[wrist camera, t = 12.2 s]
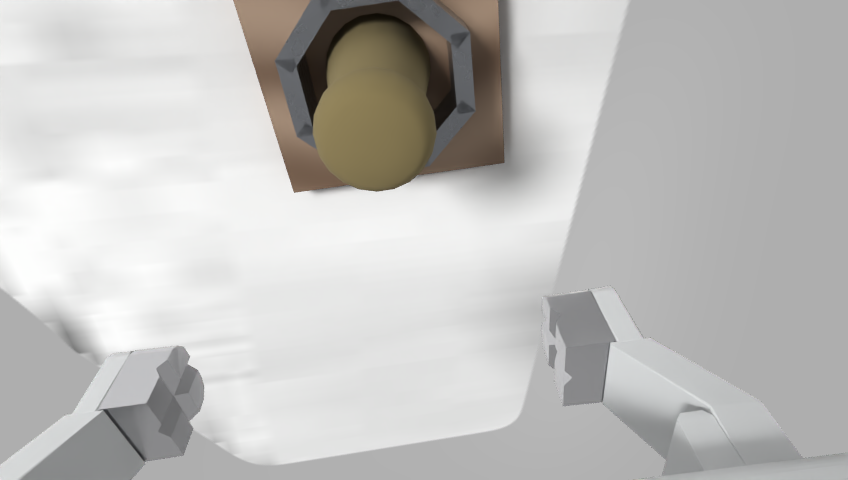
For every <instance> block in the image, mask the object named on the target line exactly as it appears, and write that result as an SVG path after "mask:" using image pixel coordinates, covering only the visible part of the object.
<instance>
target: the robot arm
mask: <svg viewBox="0 0 848 480" xmlns="http://www.w3.org/2000/svg"><path fill="white" fill-rule="evenodd" d="M542 311H543V314H544V317H545V320H544V322H543V323H542V340H543V347H544V351H545V355H546V358H547V361H548V364H549V366H551V367H552V368H554V382H555V385H556V388H557V391H558V393H559V396H560V399H561V401H562V405H563V406H569V405H579V404H589V403H599V402H603V405H604V406H605V407H607V408H608V409H609V410H610V411H611V412H613V414H615V415H616V416H617V417H618V418H619V419H620V420H621V421H622V422H624V423H625V424H626V425H627V426H628V427H629V428H630V429H632V430H633V431H634V432H635V433H636V434H637V435H638V436H640V437H641V438H642V439H643V440H644V441H645V442H646V443H647V444H648V445H650V446H651V447H652V448H653V449H654V450H655V451H657V452H658V453H659V454H660V455H661V456H662V457H663V458H664V459H666V462H665V466H664V470H663V473H662V476H659V477H650V478H643V479H634V480H848V453H841V454H833V455H826V456H817V457H809V458H802V456H801V455H800V454H799V452H798V451H797V449H796V448H795V447H794V445H793V444H792V443H791V441H790V440H789V439H788V437H787V436H786V435H785V433H784V432H783V430H782V429H781V428H780V426H779V425H778V424H777V422H776V421H775V420H774V418H773V417H772V415H771V414H770V413H769V411H768V410H767V409H766V407H765V406H764V405H763V403H762V402H761V401H760V400H758V399H756V398H755V397H753V396H751V395H749V394H748V393H746V392H744V391H742V390H741V389H739V388H737V387H735V386H734V385H732V384H730V383H729V382H727V381H725V380H723V379H722V378H720V377H718V376H716V375H715V374H713V373H711V372H710V371H708V370H706V369H704V368H702V367H701V366H699V365H697V364H696V363H694V362H692V361H690V360H689V359H687V358H685V357H684V356H682V355H680V354H678V353H677V352H675V351H673V350H671V349H670V348H668V347H666V346H664V345H663V344H661V343H659V342H658V341H656V340H654V339H652V338H643V336H642V334H641V333H640V331H639V329H638V328H637V326H636V324H635V323H634V321H633V319H632V318H631V316H630V314H629V312H628V311H627V309H626V307H625V306H624V304H623V302H622V301H621V299H620V297H619V295H618V294H617V292H616V290H615V289H614V288H613V287H611V286H608V287H601V288H594V289H588V290H582V291H575V292H568V293H562V294H554V295H547V296H543V299H542ZM189 358H190V356H189V354H188V353H187V351H186V350H185V348H184V347H182V346H170V347H161V348H152V349H143V350H135V351H130V352H120V353H113V354H112V355H110V356H109V357H107V358H106V360H105V362H104V363H103V365H102V366H101V368H100V370H99V371H98V373H97V375H96V376H95V378H94V380H93V381H92V383H91V384H90V386H89V388H88V389H87V391H86V392H85V394H84V396H83V397H82V399H81V401H80V402H79V404H78V405H77V407H76V409H75V410H74V412H73V414H71V415H65V416H63V417H62V418H61V419H60V420H59V421H57V422H56V423H54V424H53V425H52V426H51V427H49V428H48V429H47V430H45V431H44V432H43V433H41V434H40V435H39V436H38V437H36V438H35V439H33V440H32V441H31V442H30V443H28V444H27V445H26V446H24V447H23V448H22V449H21V450H19V451H18V452H17V453H15V454H14V455H13V456H11V457H10V458H9V459H7V460H6V461H5V462H4V463H2V464H1V465H0V480H131V479H132V478H133V477H134V476H135V475H136V474H137V473H138V472H139V470H140V469H141V468H142V467H143V466H144V465H145V462H146V461H152V460H158V459H165V458H171V457H177V456H183V455H184V452H185V450H186V447H187V444H188V442H189V439H190V436H191V434H192V431H193V427H192V425H191V422H190V420H191V419H192V418H193V417H194V416H195V415H196V414H197V413H198V412H199V411H200V409H201V406H202V403H203V400H204V384H203V380H202V377H201V375H200V373H199V372H198V370H197V369H195V368H193V367H191V366H190V365H188V364H187V363H188V361H189Z"/></svg>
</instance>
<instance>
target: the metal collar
mask: <svg viewBox="0 0 848 480" xmlns="http://www.w3.org/2000/svg"><path fill="white" fill-rule="evenodd" d="M391 1H400V2H401V3H402V4H403V5H405V6H406V7H407V8H408V9H409V10H411V11H412V12H413V13H414V14H416V15H417V16H418V17H419V18H420V19H422V20H423V21H424V22H425V23H427V24H428V25H429V26H430V27H431V28H433V29H434V30H435V31H436V32H438V33H439V34H440V35H441V36H442V37H444V38H445V39H446V41H447V51H448V61H449V72H450V82H451V90H450V91H449V92H448V94H447V95H446V96H445V97H444V99H443V100H442V101H441V103H440V104H439V105H438V106H437V108H436V109H435V110H434V111H433V112H434V116H435V124H436V132H437V135H436V139H435V144H434V149H433V152H432V155H431V157H430V158H429V160H428V162H427V164H426V165H425V167H428V166H430V165H431V164H432V162H433V161H434V160H435V159H436V158H437V156H438V155H439V154H440V153H441V152H442V150H443V149H444V148H445V147H446V146H447V145H448V143H449V142H450V141H451V140H452V139H453V137H454V136H455V135H456V134H457V133H458V131H459V130H460V129H461V128H462V127H463V125H464V124H465V123H466V122H467V121H468V119H469V118H470V117H471V116H472V115H473V114H474V112H476V110H475V96H474V82H473V68H472V54H471V40H470V31H469V29H468V28H467V26H466V24H465V23H464V21H463V20H462V19H461V18H460V17H458V16H457V15H456V14H455V13H454V12H453V11H451V10H450V9H449V8H448V7H447V6H446V5H444V4H443V3H442V2H441V1H440V0H311V1H310V2H309V4H308V6H307V7H306V9H305V11H304V12H303V14H302V16H301V18H300V19H299V21H298V23H297V24H296V26H295V28H294V29H293V31H292V33H291V34H290V36H289V38H288V39H287V41H286V43H285V45H284V46H283V48H282V50H281V51H280V53H279V55H278V56H277V58H276V59H275V61H274V62H275V64H276V67H277V71H278V74H279V77H280V81H281V84H282V88H283V91H284V95H285V98H286V102H287V105H288V108H289V112H290V115H291V119H292V122H293V126H294V129H295V132H296V137H298V138H299V139H301V140H303V141H304V142H306V143H307V144H309V145H310V146H312V147H314V148H315V149H317V147H316V144H315V140H314V137H313V120H314V113H315V111H316V108H317V106H318V103H317V99H316V95H315V91H314V87H313V83H312V79H311V75H310V72H309V68H308V64H307V60H306V56H305V52H306V50H307V48H308V47H309V45H310V43H311V42H312V40H313V39H314V37H315V35H316V34H317V32H318V30H319V29H320V27H321V26H322V24H323V22H324V21H325V19H326V17H327V16H328V14H329V13H330V11H331V10H338V9H345V8H351V7H358V6H365V5H371V4H378V3H385V2H391Z"/></svg>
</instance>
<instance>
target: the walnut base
mask: <svg viewBox="0 0 848 480" xmlns="http://www.w3.org/2000/svg"><path fill="white" fill-rule="evenodd" d="M233 1H234V4H235V7H236V10H237V13H238V17H239V20H240V23H241V26H242V29H243V32H244V36H245V39H246V42H247V45H248V48H249V51H250V55H251V58H252V61H253V64H254V67H255V70H256V74H257V77H258V80H259V83H260V86H261V90H262V93H263V96H264V99H265V102H266V105H267V109H268V112H269V115H270V118H271V121H272V124H273V128H274V131H275V134H276V137H277V140H278V143H279V147H280V150H281V153H282V156H283V159H284V162H285V166H286V169H287V172H288V175H289V178H290V181H291V185H292V188H293V191H294V193H295V192H302V191H309V190H316V189H323V188H330V187H337V186H344V185H348V184H346V183H343V182H342V181H341V180H339V179H338V178H337V177H336V176H335V175H333V174H332V173H331V172H330V171H329V170H328V169H327V167H326V166H325V164H324V163H323V161H322V160H321V158H320V157H319V154H318V151H317V149H315V148H314V147H312V146H310V145H309V144H307V143H306V142H304V141H303V140H301V139H299V138H298V137H296V132H295V129H294V126H293V122H292V119H291V115H290V112H289V108H288V105H287V102H286V98H285V95H284V91H283V88H282V84H281V81H280V77H279V74H278V71H277V67H276V64H275V62H274V61H275V59H276V58H277V56H278V55H279V53H280V51H281V50H282V48H283V46H284V45H285V43H286V41H287V39H288V38H289V36H290V34H291V33H292V31H293V29H294V28H295V26H296V24H297V23H298V21H299V19H300V18H301V16H302V14H303V12H304V11H305V9H306V7H307V6H308V4H309V2H310V1H311V0H233ZM440 1H441V2H442V3H443V4H444V5H446V6H447V7H448V8H449V9H450V10H451V11H453V12H454V13H455V14H456V15H457V16H458V17H460V18H461V19H462V20H463V21H464V23H465V24H466V26H467V28H468V29H469V31H470V40H471V54H472V68H473V82H474V96H475V110H476V112H474V114H473V115H472V116H471V117H470V118H469V119H468V121H467V122H466V123H465V124H464V125H463V127H462V128H461V129H460V130H459V131H458V133H457V134H456V135H455V136H454V137H453V139H452V140H451V141H450V142H449V143H448V145H447V146H446V147H445V148H444V149H443V150H442V152H441V153H440V154H439V155H438V156H437V158H436V159H435V160H434V161H433V162H432V164H431V165H430V166H428V167H424V169H423V170H422V171H421V172H420V173H419V174H418V175H422V174H429V173H436V172H443V171H450V170H457V169H464V168H471V167H478V166H485V165H493V164H500V163H504V140H503V114H502V89H501V63H500V37H499V12H498V0H440ZM374 13H380V14H386V15H391V16H395V17H397V18H399V19H400V20H402V21H404V22H406V23H408V24H409V25H411V27H412V28H413V29H414V30H415V31H416V32H417V33H418V34H419V35H420V36H421V37H422V39H423V42H424V44H425V46H426V48H427V50H428V53H429V59H430V67H431V72H430V77H429V83H428V88H427V93H426V97H427V99H428V101H429V103H430V105H431V107H432V109H433V111H434V110H435V109H436V108H437V106H438V105H439V104H440V103H441V101H442V100H443V99H444V97H445V96H446V95H447V94H448V92H449V91H450V90H451V82H450V72H449V61H448V51H447V41H446V39H445V38H444V37H442V36H441V35H440V34H439V33H438V32H436V31H435V30H434V29H433V28H431V27H430V26H429V25H428V24H427V23H425V22H424V21H423V20H422V19H420V18H419V17H418V16H417V15H416V14H414V13H413V12H412V11H411V10H409V9H408V8H407V7H406V6H405V5H403V4H402V3H401V2H400V1H391V2H385V3H378V4H371V5H365V6H358V7H351V8H345V9H338V10H331V11H330V13H329V14H328V16H327V17H326V19H325V21H324V22H323V24H322V26H321V27H320V29H319V30H318V32H317V34H316V35H315V37H314V39H313V40H312V42H311V43H310V45H309V47H308V48H307V50H306V52H305V56H306V60H307V64H308V68H309V72H310V75H311V79H312V83H313V87H314V91H315V95H316V99H317V103H318V104H319V101H320V99H321V97H322V94H323V93H324V92H325V90H326V89H327V88H328V85H327V75H326V61H327V51H328V49H329V47H330V44H331V42H332V39H333V37H334V36H335V35H336V33H337V32H338V31H339V30H340V29H341V28H342V27H343V26H344V24H346V23H348V22H349V21H351V20H353V19H355V18H357V17H359V16H361V15H367V14H374Z"/></svg>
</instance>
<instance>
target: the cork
mask: <svg viewBox="0 0 848 480" xmlns="http://www.w3.org/2000/svg"><path fill="white" fill-rule="evenodd" d="M430 72H431V67H430V59H429V53H428V50H427V48H426V46H425V44H424V42H423V39H422V37H421V36H420V35H419V34H418V33H417V32H416V31H415V30H414V29H413V28H412V27H411V25H409V24H408V23H406V22H404V21H402V20H400V19H399V18H397V17H395V16H391V15H386V14H380V13H374V14H367V15H361V16H359V17H357V18H355V19H353V20H351V21H349V22H348V23H346V24H344V26H343V27H342V28H341V29H340V30H339V31H338V32H337V33H336V35H335V36H334V37H333V39H332V42H331V44H330V47H329V49H328V51H327V61H326V75H327V85H328V88H327V89H326V90H325V92H324V93H323V94H322V97H321V99H320V101H319V104H318V106H317V108H316V111H315V113H314V120H313V137H314V140H315V144H316V147H317V151H318V154H319V157H320V158H321V160H322V161H323V163H324V164H325V166H326V167H327V169H328V170H329V171H330V172H331V173H332V174H333V175H335V176H336V177H337V178H338V179H339V180H341V181H342V182H343V183H346V184H348V185H350V186H353V187H355V188H357V189H361V190H369V191H384V190H390V189H395V188H397V187H399V186H402V185H404V184H406V183H408V182H410V181H411V180H412V179H413V178H414V177H416V176H417V175H418V174H419V173H420V172H421V171H422V170H423V169H424V167H425V165H426V164H427V162H428V160H429V158H430V157H431V155H432V152H433V149H434V144H435V139H436V135H437V132H436V124H435V116H434V112H433V109H432V107H431V105H430V103H429V101H428V99H427V97H426V93H427V88H428V83H429V77H430Z"/></svg>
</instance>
